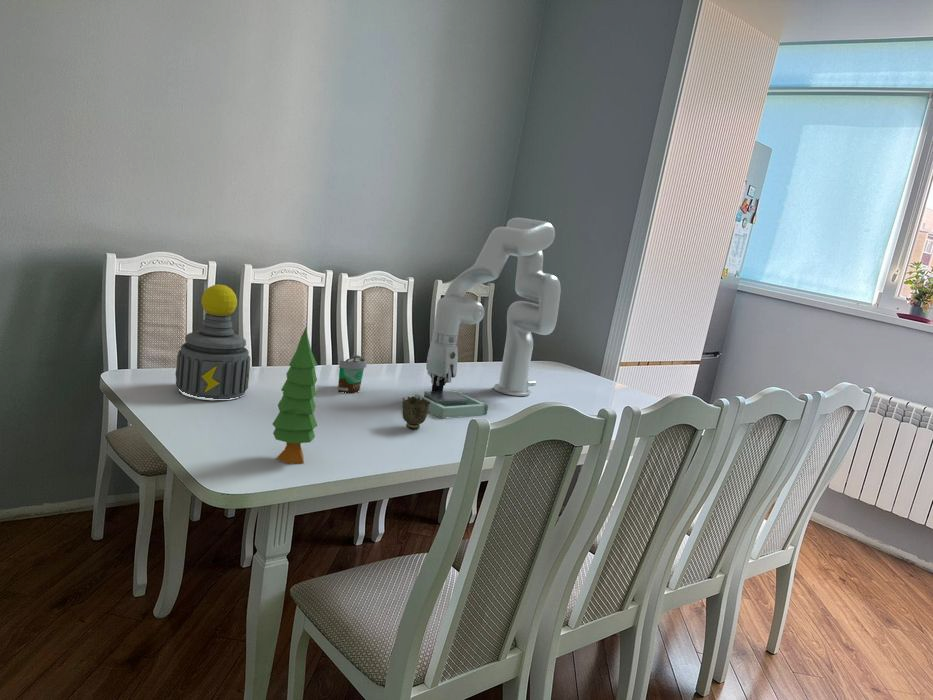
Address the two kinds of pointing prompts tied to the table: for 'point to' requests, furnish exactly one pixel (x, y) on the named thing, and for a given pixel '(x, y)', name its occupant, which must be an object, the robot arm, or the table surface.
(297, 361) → the decorative tree
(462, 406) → the bay
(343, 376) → the food container
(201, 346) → the decorative lamp
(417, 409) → the cup
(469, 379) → the table surface
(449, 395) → the gray rectangular block
